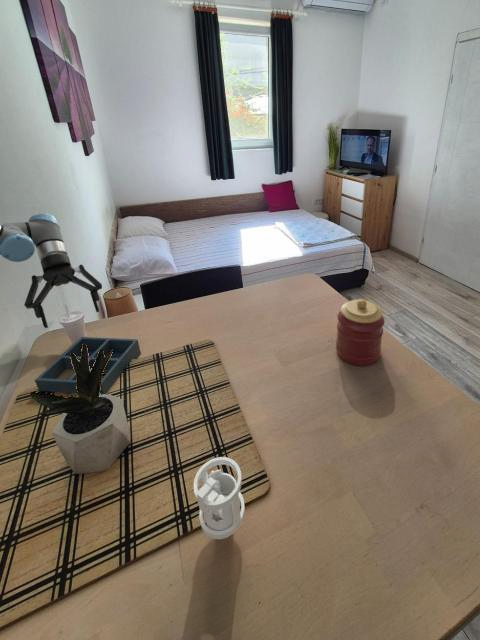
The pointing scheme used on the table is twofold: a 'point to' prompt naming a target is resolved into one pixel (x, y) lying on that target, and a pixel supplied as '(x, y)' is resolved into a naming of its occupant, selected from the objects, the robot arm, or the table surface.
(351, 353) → the kitchen canister
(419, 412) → the table surface
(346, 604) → the table surface
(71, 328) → the smoothie
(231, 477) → the white cylindrical holder
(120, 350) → the divided tray
